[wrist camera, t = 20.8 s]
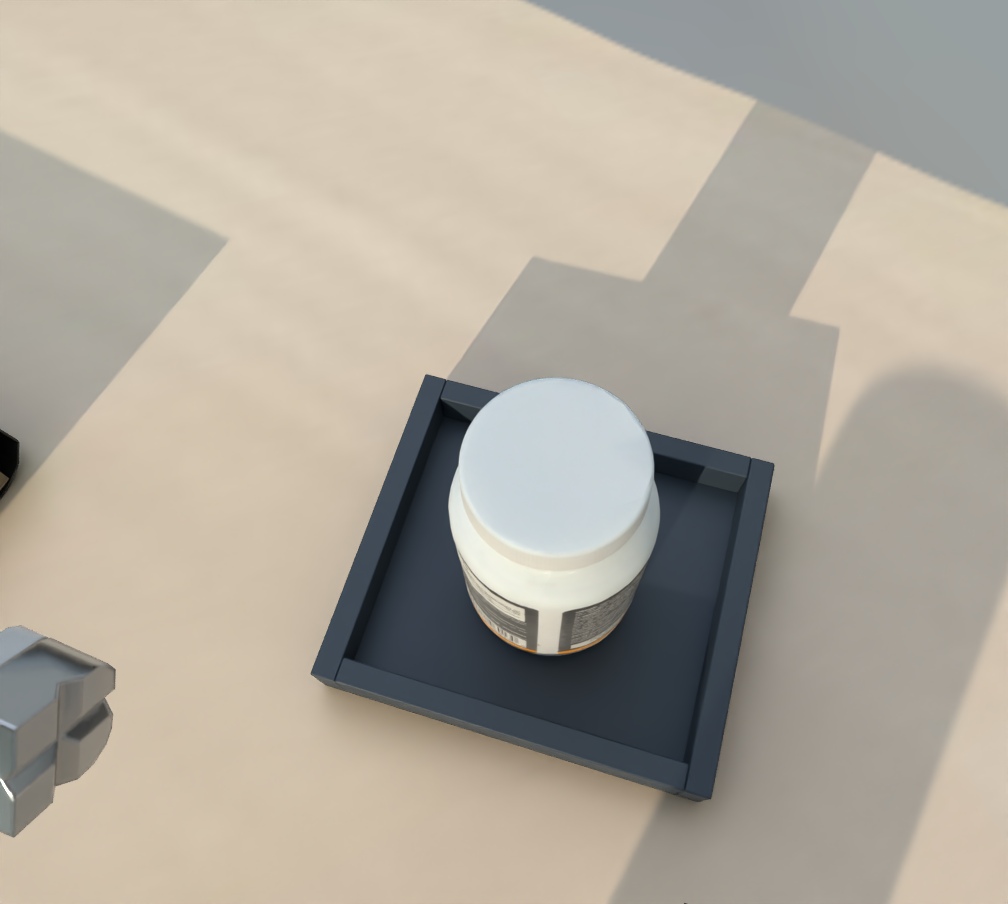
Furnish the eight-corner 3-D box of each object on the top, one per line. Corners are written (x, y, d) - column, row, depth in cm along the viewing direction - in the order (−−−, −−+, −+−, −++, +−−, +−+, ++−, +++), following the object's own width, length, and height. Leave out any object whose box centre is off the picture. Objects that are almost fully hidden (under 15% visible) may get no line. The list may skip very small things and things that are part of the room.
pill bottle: (619, 490, 30) (657, 344, 21) (645, 652, 28) (701, 564, 19) (459, 506, 30) (430, 366, 21) (473, 670, 28) (446, 590, 19)
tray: (760, 484, 31) (775, 462, 29) (699, 802, 27) (711, 800, 25) (431, 399, 33) (425, 373, 31) (323, 684, 28) (309, 673, 27)
